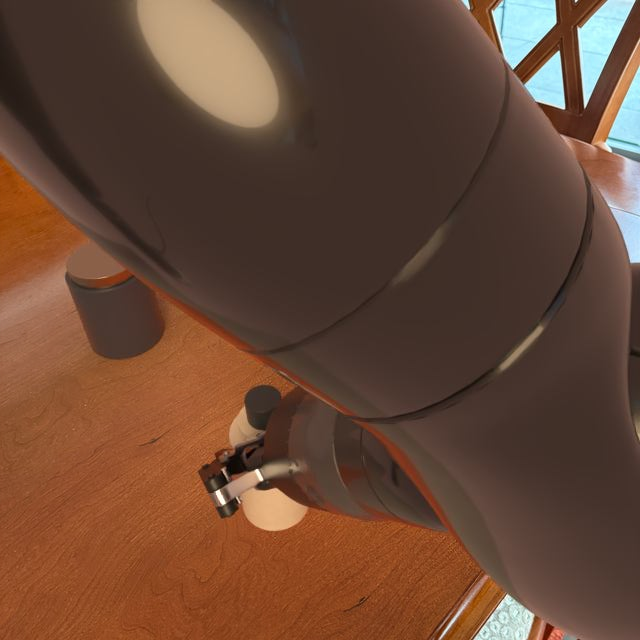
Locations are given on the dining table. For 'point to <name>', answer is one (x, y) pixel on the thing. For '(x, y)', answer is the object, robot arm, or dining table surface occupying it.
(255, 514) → the cream bottle
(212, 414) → the dining table surface
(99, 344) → the slate jar
